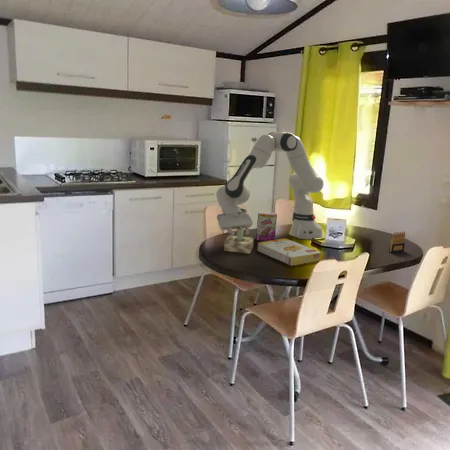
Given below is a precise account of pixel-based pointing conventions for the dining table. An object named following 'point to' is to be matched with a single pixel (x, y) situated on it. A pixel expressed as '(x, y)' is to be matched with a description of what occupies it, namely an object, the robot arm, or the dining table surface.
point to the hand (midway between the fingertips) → (240, 234)
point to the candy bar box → (266, 226)
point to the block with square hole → (238, 244)
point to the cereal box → (289, 251)
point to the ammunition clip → (397, 242)
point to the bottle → (239, 234)
